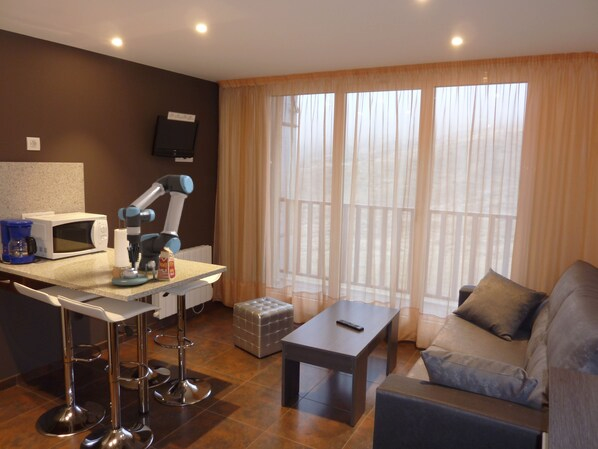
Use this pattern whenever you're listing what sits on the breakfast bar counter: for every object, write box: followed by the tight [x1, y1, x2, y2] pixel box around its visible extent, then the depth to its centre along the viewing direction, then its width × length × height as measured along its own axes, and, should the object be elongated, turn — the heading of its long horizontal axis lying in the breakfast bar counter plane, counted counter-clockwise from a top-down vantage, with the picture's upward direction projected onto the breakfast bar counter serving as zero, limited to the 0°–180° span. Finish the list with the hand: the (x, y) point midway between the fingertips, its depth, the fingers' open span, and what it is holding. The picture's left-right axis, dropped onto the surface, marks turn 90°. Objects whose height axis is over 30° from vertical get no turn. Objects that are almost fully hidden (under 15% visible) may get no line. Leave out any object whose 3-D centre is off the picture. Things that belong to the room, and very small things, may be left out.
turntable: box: [111, 268, 149, 286], centre depth 265 cm, size 20×20×6 cm
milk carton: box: [156, 247, 177, 282], centre depth 278 cm, size 9×9×20 cm
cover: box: [122, 267, 139, 279], centre depth 266 cm, size 8×8×6 cm
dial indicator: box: [145, 261, 160, 283], centre depth 271 cm, size 5×6×12 cm
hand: (134, 273), depth 271 cm, fingers closed
